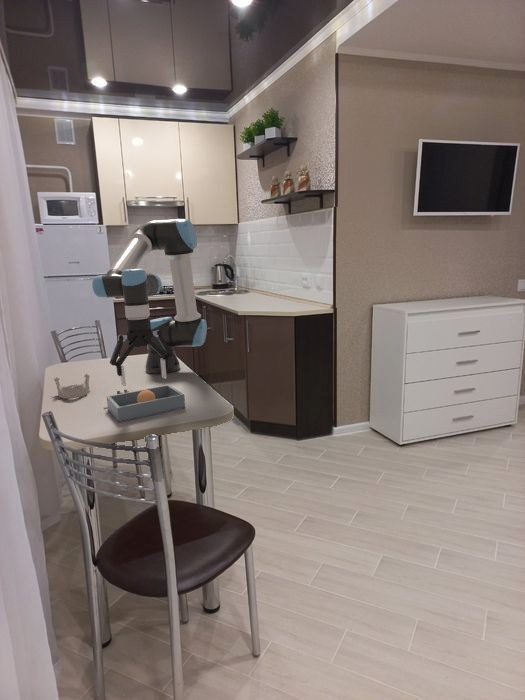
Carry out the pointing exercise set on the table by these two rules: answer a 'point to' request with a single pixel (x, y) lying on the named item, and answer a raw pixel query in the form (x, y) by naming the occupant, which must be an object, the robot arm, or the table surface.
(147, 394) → the ball
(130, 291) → the robot arm
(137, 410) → the tray
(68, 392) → the anatomical model
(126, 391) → the tan knobbed round piece
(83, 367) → the table surface
